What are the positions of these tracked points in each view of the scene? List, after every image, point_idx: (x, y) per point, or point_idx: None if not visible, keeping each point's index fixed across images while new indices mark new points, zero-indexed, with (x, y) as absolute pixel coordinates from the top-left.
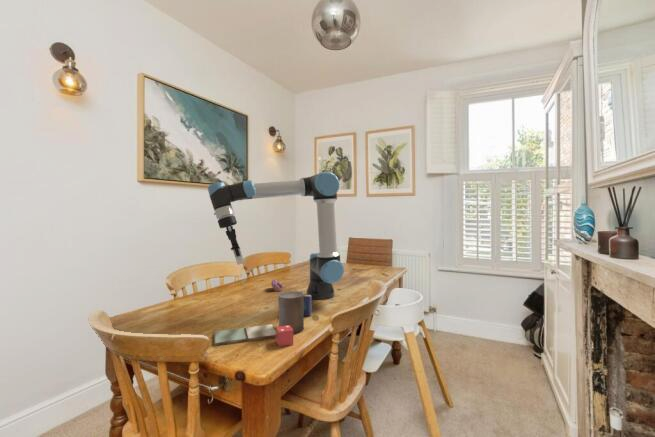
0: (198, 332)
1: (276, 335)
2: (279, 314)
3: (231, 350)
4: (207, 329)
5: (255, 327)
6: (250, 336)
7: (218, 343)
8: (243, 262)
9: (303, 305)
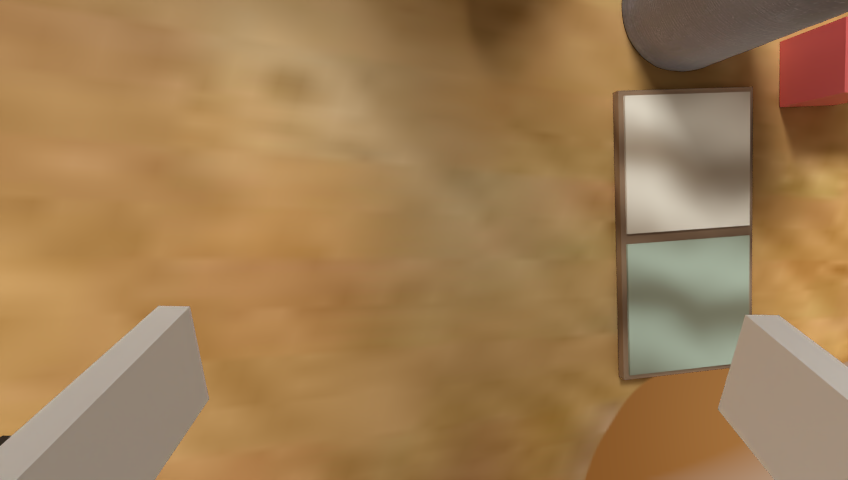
0: (581, 447)
1: (815, 100)
2: (759, 44)
3: (800, 293)
4: (557, 412)
5: (640, 185)
6: (735, 215)
7: None
8: (786, 329)
9: None
